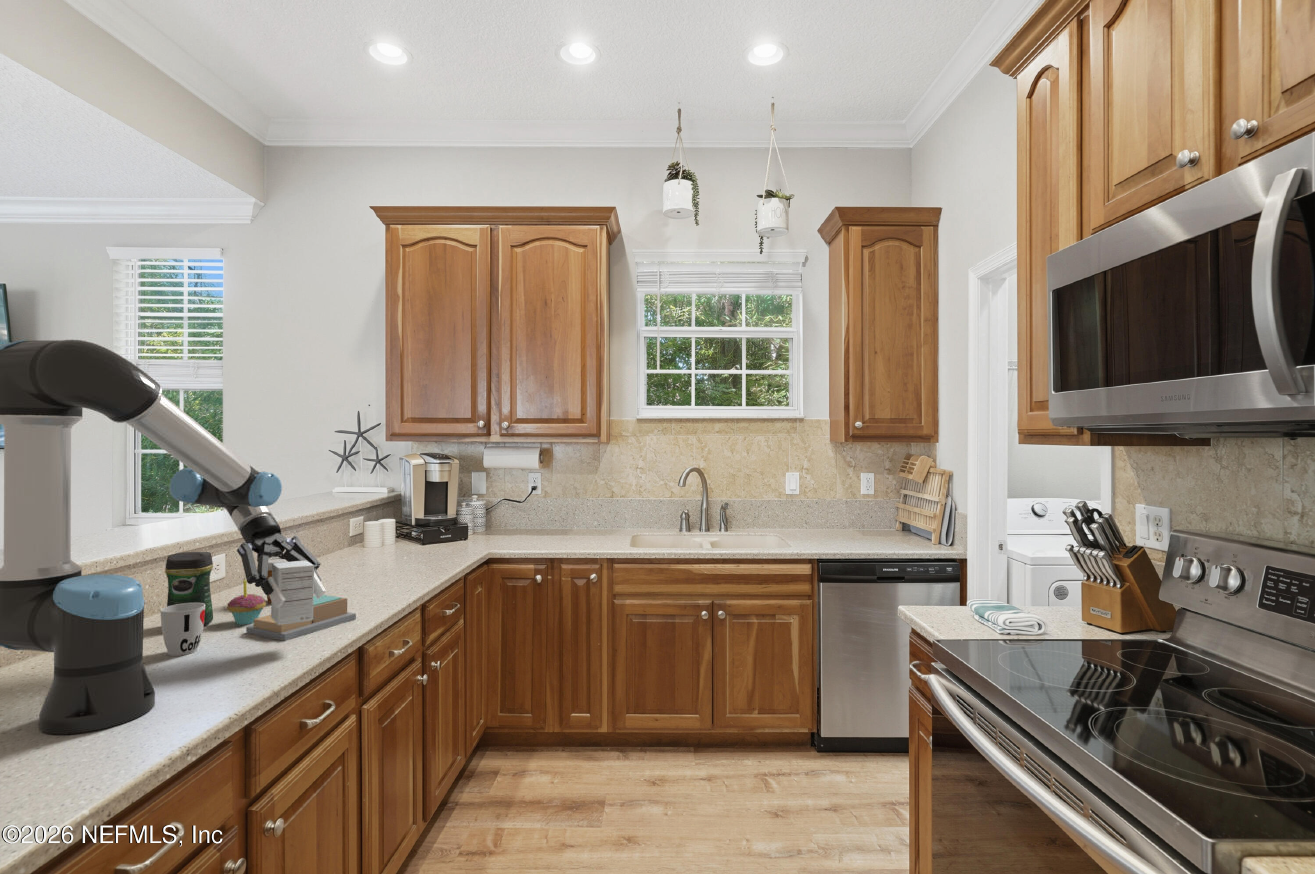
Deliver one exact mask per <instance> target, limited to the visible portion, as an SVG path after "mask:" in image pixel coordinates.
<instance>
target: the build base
mask: <svg viewBox="0 0 1315 874" xmlns="http://www.w3.org/2000/svg"><path fill="white" fill-rule="evenodd" d="M356 619H357V613H355V612H349V611H348V598H347V597H341V596H333V595H327V594H323V595H322V597H321V598H319V599H317V597H316V596H315V595H314V600H313V620H311V621H304V622H298V623H291V624H283V625H277V623H276V622H275V621H274V620H273V619H272V618H271V614H269V615H264V616H261V617H260V616H259V618H256V619H254V623H253V624H252V625H248V626H246V628H245V629H246V630H245V631H246V634H250V635H255V636H259V637H265V638H269V639H275V640H279V641H284V642H286V641H289V640H292V639H296V638H299V637H302V636H306V635H308V634H313V633H315V632H318V631H321V630H325V629H328V628H332V627H334V626H338V625H341V624H345V623H349V622H351V621H352V622H353V621H354V620H356Z"/></svg>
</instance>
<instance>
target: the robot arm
mask: <svg viewBox="0 0 1315 874" xmlns="http://www.w3.org/2000/svg"><path fill="white" fill-rule="evenodd" d="M162 390H163V388H162V386H161V384H160V383H158V381H156V380H155V379H154V378H152V377H151V376H150V375H149V374H147V373H146V372H145V371H144V370H142V369H141V368H139V367H138V366H137V365H136V364H135V363H133V362H132V361H129V360H128V359H126V358H125V357H123V356H122V355H119V354H118V353H116V352H114V351H112V350H111V349H108V348H106V347H105V346H102V345H99V344H97V343H94V342H90V341H86V340H82V339H81V340H80V339H61V340H59V339H58V340H55V339H54V340H43V339H42V340H31V339H30V340H27V339H26V340H25V339H24V340H19V341H13V342H7V343H3V344H0V424H1V425H2V427H3V428H4V432H3V436H4V437H3V442H4V443H3V445H4V447H3V448H4V449H3V450H4V451H3V460H4V461H3V565H2V567H1V568H0V647H1V648H5V649H9V650H13V651H33V652H34V651H36V652H43V653H46V652H47V653H53V679H52V682H51V684H50V687H49V689H48V691H47V695H46V696H45V699H44V702H43V704H42V705H41V706H42V707H41V710H40V712H39V716H38V729H39V731H41V732H42V733H45V734H49V735H74V734H82V733H89V732H93V731H94V732H95V731H98V730H102V729H108V728H111V727H114V726H118V725H122V724H124V723H127V722H130V721H132V720H135V719H137V718H139V717H141V716H143V715H145V714H146V713H148V712H150V711H151V710H152V709H153V708H154V707H155V704H156V692H155V689H154V685H153V684H152V681H151V679H150V676H149V674H148V673H147V670H146V667H145V665H144V661H143V660H144V659H143V657H144V656H143V655H144V652H143V649H144V623H145V622H144V616H145V614H144V613H145V599H144V592H143V586H142V584H141V582H140V581H139V580H137V579H136V578H133V577H130V576H125V575H121V574H97V573H96V574H87V575H85V574H84V575H83V574H82V570H83V569H82V566H81V565H79V564H78V563H76V562H74V560H73V559H71V558H72V557H71V545H72V544H71V541H72V540H71V539H72V535H71V530H72V527H71V526H72V525H71V523H72V522H71V520H72V517H71V516H72V515H71V514H72V504H71V503H72V502H71V501H72V489H71V488H72V428H73V427H74V426H75V425H76V424H77V423H78V422H80V421H81V420H82V419H83V408H84V409H87V410H91V411H95V412H96V413H99V414H102V415H103V416H105V417H106V418H108V419H110V420H111V421H112V422H114V423H117V424H123V423H126V424H127V425H128V426H130V427H132V428H133V429H134V430H135V431H137V432H138V433H140V434H141V435H142V436H145V438H147V439H149V440H150V441H151V442H152V443H154V444H155V445H157V446H158V447H159V448H160V449H162V450H163V451H165V452H166V453H168V454H169V455H171V456H172V457H173V458H175V459H176V460H178V462H180V463H182V464H183V465H185V466H186V467H185V468H181V469H179V470H178V471H176V472H175V473H174V475H172V477H171V479H170V483H169V487H168V488H169V489H168V490H169V494H170V495H171V497H172V498H173V499H174V500H176V501H178V502H181V503H185V504H187V505H188V504H189V505H190V504H194V505H201V506H209V507H216V508H223V509H225V510H226V511H227V513H228V514H229V516H230V518H231V520H232V521H233V523H234V525H235V526H236V528H237V530H238V531H239V532H240V535H241V537H242V539H243V540H244V541H243V542H241V544H240V545H239V547H237V549H236V552H237V554H238V555H239V556H240V558H241V562H242V566H243V571H244V576H245V580H246V583H247V584H248V585H252V584H254V586H255V588H261V590H262V592H263V594H265V595H266V596H267V595H269V597H270V599H271V600H272V602H273V604H274V605H275V607H276V608H280V606H281V605H282V604H283V603H284V601H285V598H284V596H283V595H282V593H281V591H280V589H279V588H278V586H277V584H276V583H275V581H274V579H273V578H272V577H269V578H268V579H267V576H268V559H272V558H281V559H285V560H287V561H288V562H293V561H308V562H309V563H311V564H313V565H314V596H316V597H317V599H319V598H321V597H322V595H325V593H326V592H327V590H326V588H325V587H324V585H323V583H322V578H321V577H320V575H319V573H318V572H317V571H318V569H319V568H320V567H321V565H322V563H321V562H320V560H318V559H317V558H316V556H314V555H313V553H311V552H310V551H309V549H308V548H307V547H306V546H305V545H304V544H303V543H302V542H301V541H300V537H298V536H297V535H293V536H292V538H291V537H289V538H287V537H286V536H284V535H283V534H282V529H281V526H280V525H279V523H278V521H277V519H276V518H275V517H274V514H273V513H272V511H271V510H270V508H269V507H268V506H271V505H272V506H273V505H274V504H275V503H276V502H277V501H278V500H279V499H280V496H281V495H282V490H283V484H282V482H281V479H280V478H279V477H278V475H277V474H275V473H273V472H267V471H258V470H256V468H254V467H253V466H251V465H250V463H247V462H246V461H245V460H244V459H243V458H241V456H239V455H238V454H237V453H236V452H234V451H233V450H232V449H230V448H229V447H228V446H227V445H225V444H224V443H223V442H221V440H219V439H218V438H217V437H216V436H214V435H213V434H212V433H210V432H209V431H208V430H207V429H206V428H204V427H203V426H202V425H201V424H200V423H198V422H197V421H196V420H195V419H193V418H192V417H191V416H189V415H188V413H186V412H185V411H183V410H182V409H181V408H180V407H179V406H177V405H176V404H175V403H174V402H173V401H171V400H170V399H169V398H167V396H165V395H164V394H163V393H162ZM254 553H256V554H257V555H256V556H257V557H256V560H255V557H254ZM256 562H257V565H256Z"/></svg>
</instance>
